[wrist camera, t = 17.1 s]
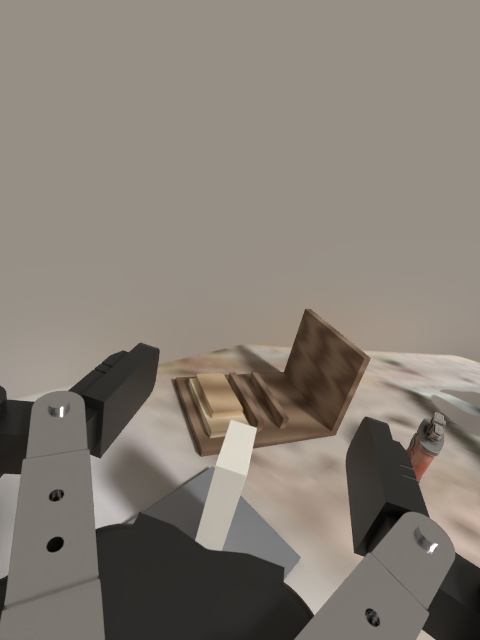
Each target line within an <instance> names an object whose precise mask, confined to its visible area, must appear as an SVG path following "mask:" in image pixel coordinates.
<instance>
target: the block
mask: <svg viewBox="0 0 480 640" xmlns="http://www.w3.org/2000/svg"><path fill="white" fill-rule="evenodd" d="M256 431H257V428H256V427H253V426H249V425H246V424H243V423H240V422H237V421H234V420H231V421H230V424H229V427H228V430H227V433H226V436H225V439H224V442H223V445H222V448H221V451H220V454H219V457H218V460H217V463H216V466H215V470H214V474H213V477H212V481H211V485H210V488H209V492H208V496H207V499H206V503H205V507H204V510H203V514H202V517H201V521H200V525H199V528H198V532H197V536H196V539H195V541H196V542H198V543H199V544H201V545H202V546H203V547H205V548H207V549H210V550H218V551H222V549H223V546H224V543H225V540H226V537H227V534H228V531H229V528H230V525H231V522H232V519H233V516H234V513H235V510H236V507H237V504H238V501H239V498H240V495H241V492H242V489H243V486H244V483H245V480H246V477H247V473H248V468H249V463H250V459H251V454H252V449H253V445H254V440H255V435H256Z"/></svg>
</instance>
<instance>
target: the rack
mask: <svg viewBox="0 0 480 640" xmlns="http://www.w3.org/2000/svg"><path fill="white" fill-rule="evenodd" d="M370 359H371V358H370V357H369V356H367V355H366V354H365V353H364V352H362V351H361V350H360V349H359V348H358V347H356V346H355V345H354V344H353V343H351V342H350V341H349V340H348V339H347V338H345V337H344V336H343V335H342V334H340V333H339V332H338V331H337V330H336V329H334V328H333V327H332V326H331V325H329V324H328V323H327V322H326V321H324V320H323V319H322V318H321V317H320V316H318V315H317V314H316V313H315V312H313V311H312V310H311V309H305V311H304V314H303V317H302V321H301V323H300V326H299V329H298V332H297V335H296V338H295V341H294V344H293V347H292V350H291V353H290V356H289V359H288V362H287V365H286V368H285V371H284V372H280V373H260V374H258V373H257V372H252V373H251V374H240V375H236V373H230V374H229V375H224V374H223V373H213V374H196V377H180V378H176V380H175V384H176V387H177V390H178V392H179V395H180V398H181V401H182V404H183V407H184V410H185V412H186V415H187V418H188V421H189V424H190V427H191V429H192V432H193V435H194V438H195V441H196V444H197V446H198V449H199V452H200V455H201V457H202V456H208V455H214V454H220V451H221V448H222V445H223V442H224V439H225V436H226V433H227V430H228V427H229V424H230V421H231V420H234V421H237V422H240V423H243V424H246V425H249V426H253V427H256V428H257V431H256V435H255V440H254V445H253V448H258V447H265V446H271V445H277V444H283V443H290V442H296V441H302V440H309V439H315V438H321V437H327V436H334V435H336V433H337V431H338V428H339V426H340V424H341V422H342V420H343V418H344V415H345V413H346V411H347V409H348V407H349V404H350V402H351V400H352V398H353V396H354V394H355V391H356V389H357V387H358V385H359V383H360V380H361V378H362V376H363V374H364V372H365V370H366V367H367V365H368V363H369V361H370Z"/></svg>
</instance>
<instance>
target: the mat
mask: <svg viewBox="0 0 480 640" xmlns="http://www.w3.org/2000/svg"><path fill="white" fill-rule="evenodd" d="M214 470H215V469H214V468H213V467H211V468H209V469H208V470H206V471H205V472H203V473H202V474H200V475H199V476H197V477H196V478H194V479H193V480H191V481H190V482H188V483H187V484H185V485H184V486H182V487H180V488H179V489H177V490H176V491H174V492H173V493H171V494H170V495H168V496H167V497H165V498H164V499H162V500H161V501H159V502H158V503H156V504H155V505H153V506H152V507H150V508H149V509H147V510H146V511H144V512H143V514H146V515H149V516H151V517H154V518H157V519H159V520H162V521H164V522H167V523H170V524H172V525H174V526H176V527H177V528H179V529H180V530H181V531H183V532H184V533H185V534H187V535H188V536H190V537H191V538H192V539H194V540H195V539H196V536H197V532H198V528H199V525H200V521H201V517H202V514H203V510H204V507H205V503H206V499H207V496H208V492H209V488H210V485H211V481H212V477H213V474H214ZM136 518H137V517H135V518H134V519H132V520H131V521H129V522H127V523H128V524H133V523H134V522H135V520H136ZM222 551H229V552H239V553H248V554H251V555H254V556H256V557H259V558H261V559H264V560H267V561H269V562H272V563H275V564H277V565H280V566H282V567H285V570H284V579H285V578H286V577H287V575H288V574H289V573H290V572H291V570H292V569H293V568H294V567H295V565H296V564H297V563H298V562H299V560H300V558H301V557H300V556H299V555H298V554H297V553H296V552H295V551H294V550H293V549H292V548H291V547H290V546H289V545H288V544H287V543H286V542H285V541H284V540H283V539H282V538H281V537H280V536H279V535H278V534H277V532H276V531H275V530H274V529H273V528H272V527H271V526H270V525H269V524H268V523H267V522H266V521H265V520H264V519H263V518H262V517H261V516H260V515H259V514H258V513H257V512H256V511H255V510H254V509H253V508H252V507H251V506H250V505H249V504H248V503H247V502H246V501H245V500H244V499H243V497H242V496H241V495H240V498H239V501H238V504H237V507H236V510H235V513H234V516H233V519H232V522H231V525H230V528H229V531H228V534H227V537H226V540H225V543H224V546H223V549H222Z"/></svg>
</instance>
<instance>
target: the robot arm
mask: <svg viewBox="0 0 480 640" xmlns="http://www.w3.org/2000/svg"><path fill="white" fill-rule="evenodd" d="M159 352H160V351H159V349H158V348H155V347H152V346H149V345H146V344H143V343H139V344H138V345H137V346H136V347H134V348H133V349H132V350H131V351H130V352H126V351H121V352H118V353H115V354H113V355H111V356H109V357H108V358H107V359H106V360H105V361H103V362H102V364H100V365H98V367H96V368H95V370H92V371H91V372H90V373H89V374H88V375H86V376H85V377H84V378H83V379H82V380H80V381H79V382H78V383H77V384H76V385H74V386H73V387H72V388H71V389H70V390H68V391H56V392H51V393H48V394H46V395H43V396H42V397H40V398H39V399H37V400H36V401H35V402H29V401H17V400H7V396H6V391H5V389H4V388H3V387H1V386H0V477H1V476H2V475H3V474H21V478H20V486H19V494H18V502H17V510H16V518H15V526H14V534H13V542H12V550H11V558H10V566H9V574H8V575H7V576H6V577H4V578H2V579H0V640H416V639H417V637H418V635H419V633H420V631H421V629H422V630H424V631H425V632H426V633H428V634H429V635H430V636H432V637H433V638H434V639H436V640H480V568H479V567H477V566H475V565H474V564H472V563H471V562H469V561H468V560H466V559H464V558H463V557H461V556H460V555H458V554H457V553H456V552H455V549H454V546H453V543H452V541H451V540H450V538H449V536H448V535H447V534H446V532H445V531H444V530H443V529H442V528H441V527H440V526H439V525H438V524H437V523H436V522H434V521H433V520H432V519H430V517H429V514H428V511H427V508H426V505H425V502H424V499H423V496H422V493H421V490H420V487H419V484H418V481H416V475H415V472H414V470H413V466H412V463H411V460H410V457H409V454H408V453H407V452H406V450H405V449H404V448H403V446H402V445H401V444H400V442H397V441H394V440H393V439H392V436H391V432H390V429H389V425H388V424H387V423H385V422H381V421H378V420H375V419H372V418H369V417H365V418H364V419H363V420H362V422H361V424H360V426H359V428H358V430H357V432H356V434H355V436H354V438H353V440H352V442H351V444H350V446H349V448H348V451H347V455H346V473H347V484H348V494H349V505H350V515H351V526H352V536H353V546H354V553H356V554H358V555H361V556H364V558H363V560H362V561H361V562H360V563H359V564H358V565H357V567H356V568H355V569H354V570H353V571H352V572H351V574H350V575H349V576H348V577H347V578H346V579H345V581H344V582H343V583H342V584H341V585H340V586H339V588H338V589H337V590H336V591H335V592H334V593H333V595H332V596H331V597H330V598H329V599H328V601H327V602H326V603H325V604H324V605H323V606H322V608H321V609H320V610H319V611H318V612H317V613H316V615H315V616H314V614H313V613H312V611H311V610H310V608H309V607H308V606H307V604H306V603H305V602H304V601H303V599H302V598H301V597H300V596H299V595H298V594H297V593H296V592H295V591H294V590H293V589H292V588H291V587H290V586H288V585H287V584H286V583H284V582H283V581H284V570H285V567H282V566H280V565H277V564H275V563H272V562H269V561H267V560H264V559H261V558H259V557H256V556H254V555H251V554H248V553H239V552H229V551H218V550H210V549H207V548H205V547H203V546H202V545H201V544H199V543H198V542H196V541H195V540H194V539H192V538H191V537H190V536H188V535H187V534H185V533H184V532H183V531H181V530H180V529H179V528H177V527H176V526H174V525H172V524H170V523H167V522H164V521H162V520H159V519H157V518H154V517H151V516H149V515H146V514H143V513H141V512H139V514H138V516H137V518H136V520H135V522H134V523H133V524H128V523H126V524H114V525H108V526H104V527H101V528H98V529H95V518H94V504H93V490H92V476H91V463H90V455H93V456H95V457H98V458H101V457H102V455H103V454H104V453H105V452H106V450H107V449H108V448H109V447H110V445H111V444H112V443H113V442H114V440H115V439H116V438H117V436H118V435H119V434H120V433H121V431H122V430H123V429H124V428H125V426H126V425H127V424H128V423H129V421H130V420H131V419H132V417H133V416H134V415H135V414H136V412H137V411H138V410H139V409H140V407H141V406H142V405H143V404H144V402H145V401H146V400H147V398H148V397H149V396H150V394H151V392H152V390H153V388H154V385H155V381H156V374H157V367H158V361H159Z"/></svg>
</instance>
